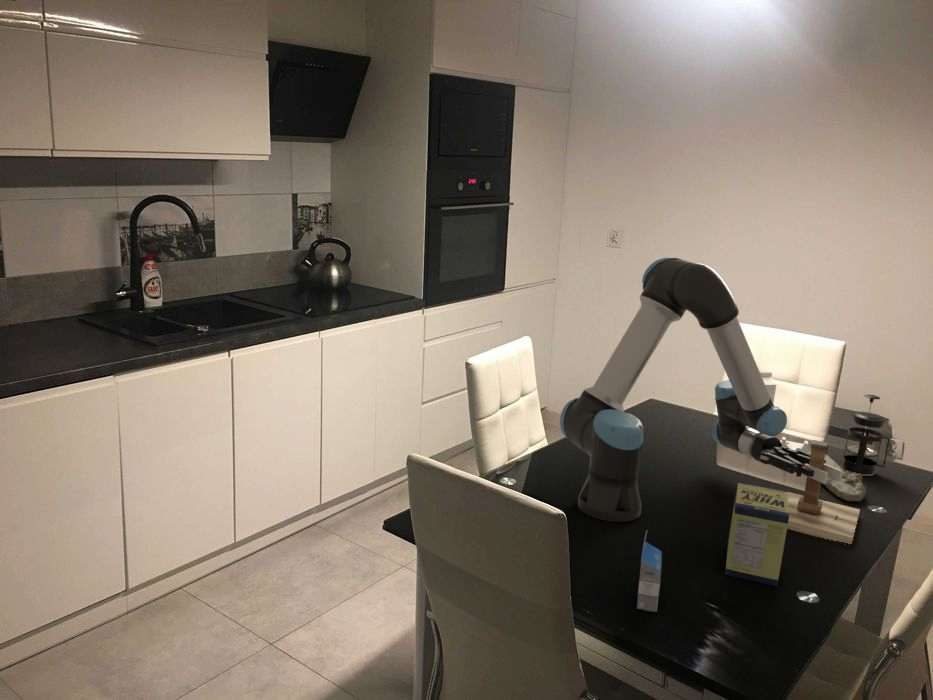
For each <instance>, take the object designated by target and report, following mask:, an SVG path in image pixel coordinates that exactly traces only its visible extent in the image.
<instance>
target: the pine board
mask: <svg viewBox="0 0 933 700" xmlns="http://www.w3.org/2000/svg"><path fill="white" fill-rule="evenodd" d="M787 496H788V510H789V521H788V526H787V530H790V531H794V532H798V533H801V534H805V535H808V536H809V535H810V536H812V537H816V538H819V537H820V538H821V539H823V538H824V540H827V539H829V540H828V541H831V540H833V541H832V542H835V541H839V542H844V543H848V544H852V545H853V542H852V541H854V538H853V537H854V536H855V534H856V530H855V529H856V528H857V526H856V525H858V522H857V521H859V517H860V511H861V509H860V508H856V507H851V506H847V505H843V504H839V503H836V502H835V503H834V502H831V501H826V500H822V499H819V498H818V500H821V501H823V503H822V509H821V511H820V513H819V515H818V514H813V513H809V512H805V511H801V510H797V506H798V501H799V499H800V497H801V496H803V495H801V494H799V493H798V494H797V493H793V492H790V491H787ZM854 533H855V534H854Z"/></svg>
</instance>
